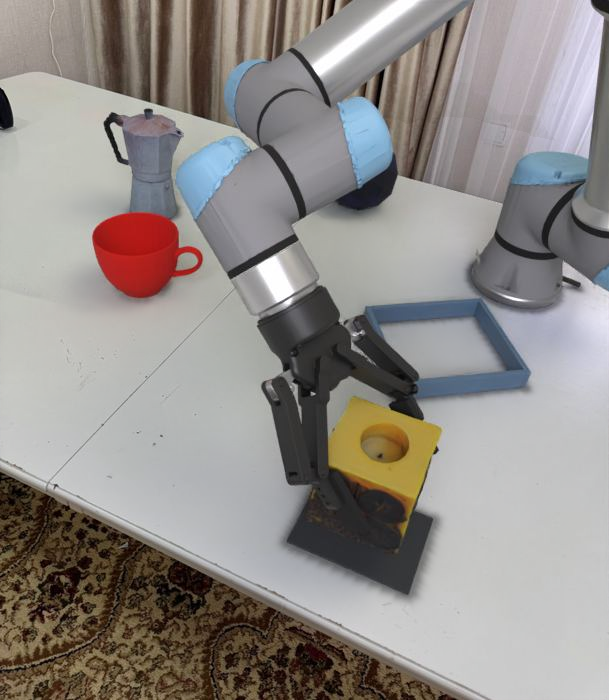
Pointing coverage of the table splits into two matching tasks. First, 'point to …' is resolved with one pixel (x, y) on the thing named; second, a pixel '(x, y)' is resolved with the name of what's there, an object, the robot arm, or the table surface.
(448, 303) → the blue open square frame
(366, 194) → the decorative orb
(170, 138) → the moka pot
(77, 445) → the table surface
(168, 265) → the ceramic cup
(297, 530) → the mat
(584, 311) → the table surface
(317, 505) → the candle
